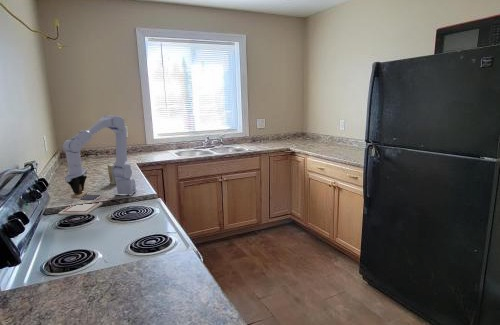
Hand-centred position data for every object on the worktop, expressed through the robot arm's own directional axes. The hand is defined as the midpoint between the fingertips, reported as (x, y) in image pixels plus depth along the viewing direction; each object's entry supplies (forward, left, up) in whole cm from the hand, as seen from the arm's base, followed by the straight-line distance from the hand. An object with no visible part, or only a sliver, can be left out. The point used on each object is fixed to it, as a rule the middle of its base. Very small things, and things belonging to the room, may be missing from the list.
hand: (78, 191), depth 150 cm
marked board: (0, 0, -9) cm, 9 cm away
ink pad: (+3, -13, -9) cm, 16 cm away
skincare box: (+4, -43, -9) cm, 44 cm away
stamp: (0, 0, -2) cm, 2 cm away
